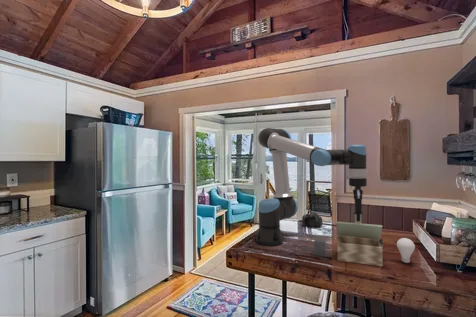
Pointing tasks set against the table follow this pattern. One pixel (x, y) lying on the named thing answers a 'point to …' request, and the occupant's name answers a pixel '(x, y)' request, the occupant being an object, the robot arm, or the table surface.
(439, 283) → the table surface
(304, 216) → the camera
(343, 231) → the lid
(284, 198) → the robot arm
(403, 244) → the light bulb
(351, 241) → the box
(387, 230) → the table surface
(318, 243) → the block
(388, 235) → the table surface
